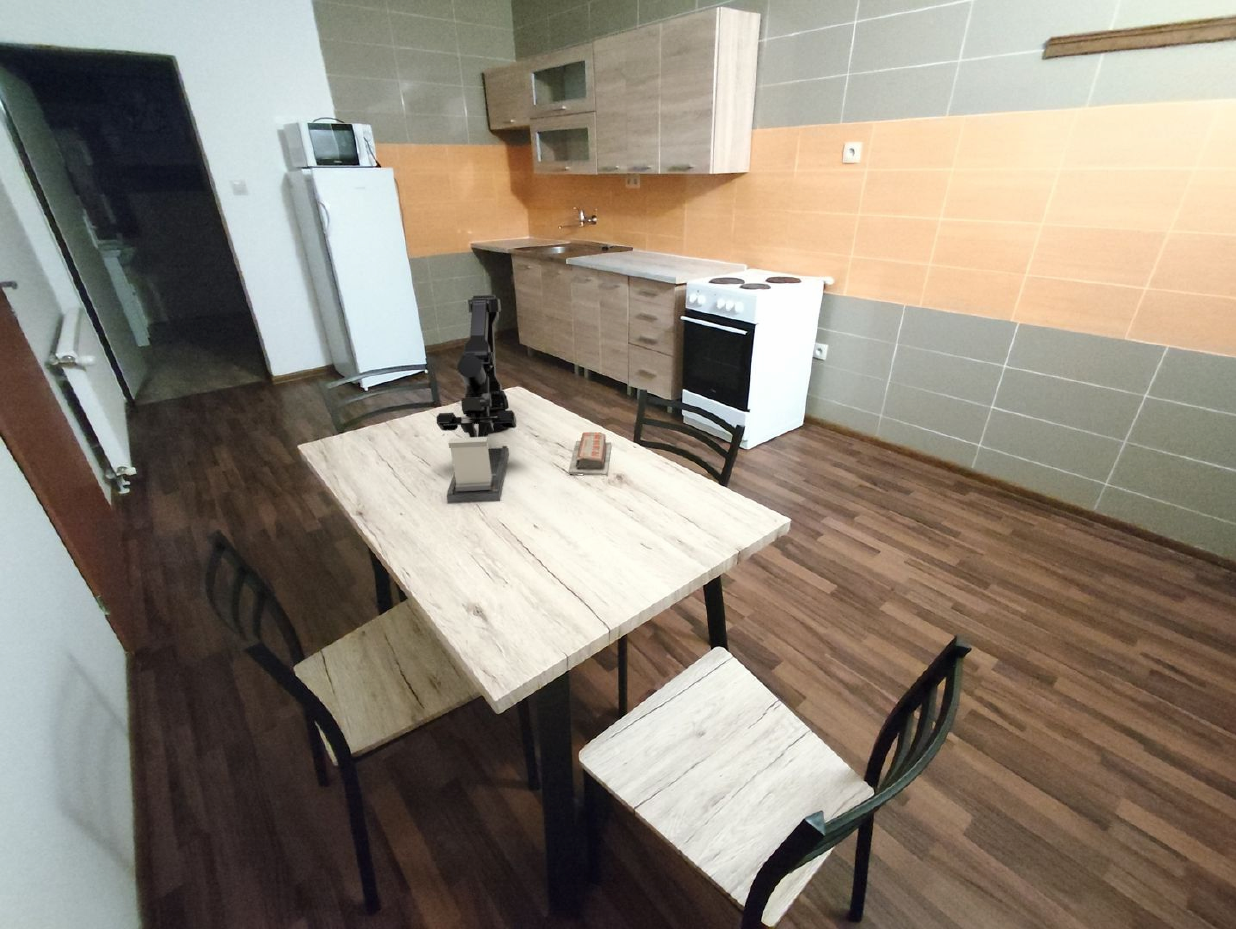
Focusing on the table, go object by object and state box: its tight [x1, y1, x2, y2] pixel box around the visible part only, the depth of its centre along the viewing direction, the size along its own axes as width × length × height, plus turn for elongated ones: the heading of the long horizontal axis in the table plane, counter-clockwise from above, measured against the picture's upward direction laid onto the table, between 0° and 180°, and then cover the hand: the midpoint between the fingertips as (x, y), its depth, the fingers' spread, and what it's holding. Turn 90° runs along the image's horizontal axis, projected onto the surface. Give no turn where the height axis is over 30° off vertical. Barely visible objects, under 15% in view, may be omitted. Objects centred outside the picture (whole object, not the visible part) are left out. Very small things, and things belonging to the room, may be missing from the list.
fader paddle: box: [448, 436, 493, 491], centre depth 131 cm, size 5×8×12 cm, turn 94°
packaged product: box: [567, 431, 612, 476], centre depth 150 cm, size 18×5×10 cm
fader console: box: [446, 445, 510, 504], centre depth 142 cm, size 24×12×3 cm, turn 4°
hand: (477, 453), depth 139 cm, fingers closed
